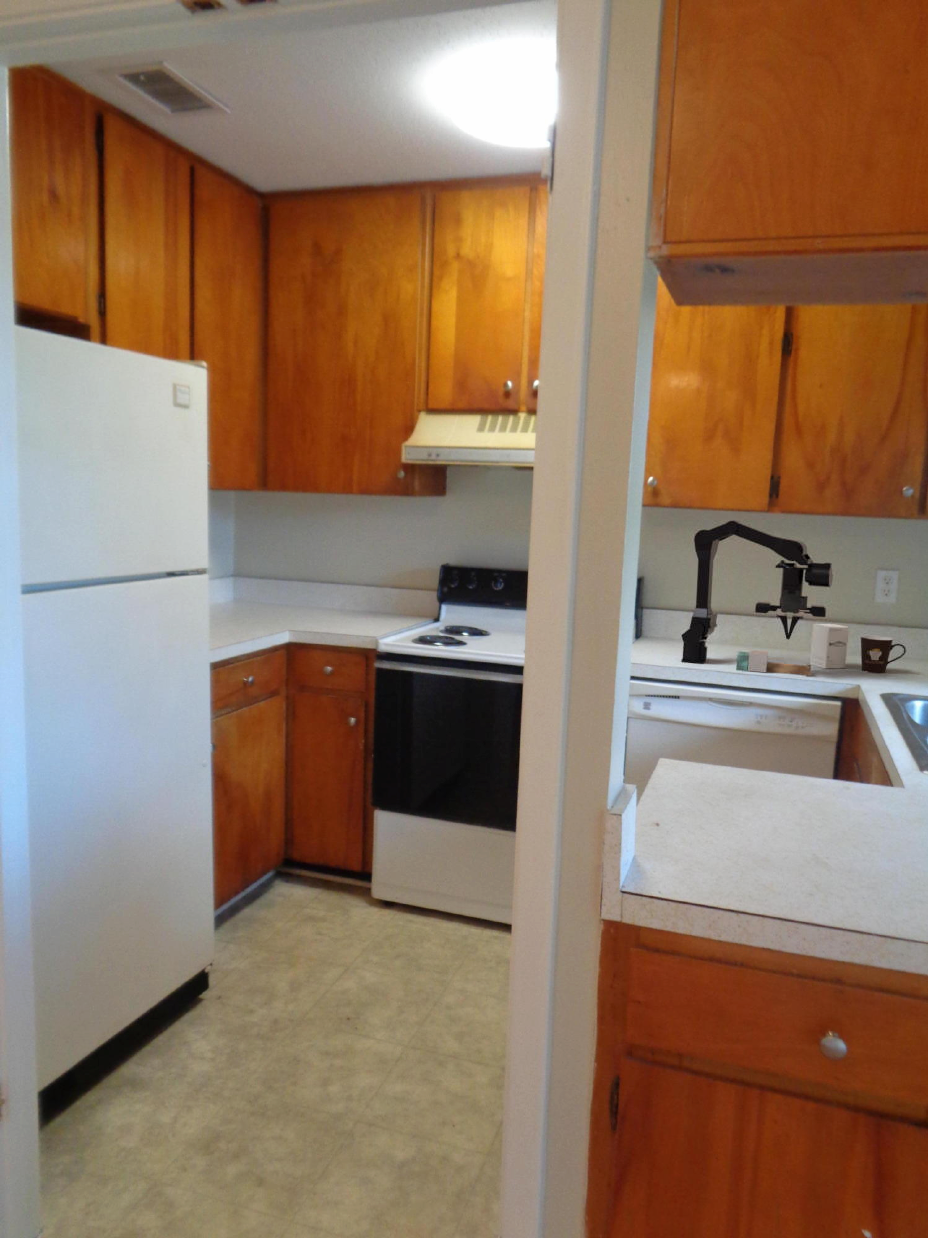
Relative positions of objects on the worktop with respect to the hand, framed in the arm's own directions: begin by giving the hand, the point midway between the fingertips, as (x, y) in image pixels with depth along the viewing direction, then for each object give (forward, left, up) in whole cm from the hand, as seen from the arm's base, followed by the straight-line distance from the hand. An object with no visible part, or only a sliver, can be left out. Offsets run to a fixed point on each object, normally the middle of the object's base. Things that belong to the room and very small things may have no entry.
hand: (787, 639), depth 256 cm
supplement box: (+12, +19, -10) cm, 24 cm away
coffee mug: (+26, +17, -10) cm, 32 cm away
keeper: (-8, 0, -10) cm, 12 cm away
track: (-3, 0, -10) cm, 10 cm away
